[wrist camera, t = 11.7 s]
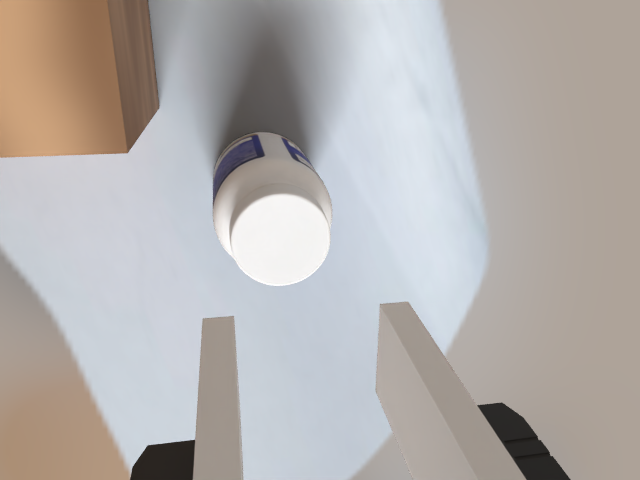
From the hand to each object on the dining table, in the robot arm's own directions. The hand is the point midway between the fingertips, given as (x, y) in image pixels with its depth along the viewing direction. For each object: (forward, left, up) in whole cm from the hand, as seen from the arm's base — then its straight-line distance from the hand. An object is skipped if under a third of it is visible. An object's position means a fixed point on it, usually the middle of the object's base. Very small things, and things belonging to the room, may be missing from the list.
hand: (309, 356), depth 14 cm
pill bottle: (0, 0, -17) cm, 17 cm away
